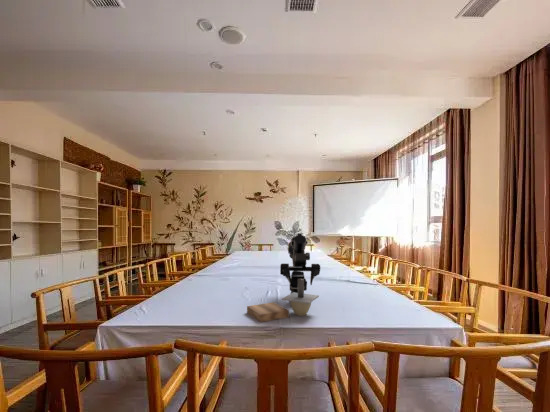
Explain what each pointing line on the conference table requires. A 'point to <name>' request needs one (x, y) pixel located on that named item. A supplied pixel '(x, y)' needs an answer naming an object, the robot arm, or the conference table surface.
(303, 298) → the cover
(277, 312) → the stand
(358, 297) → the conference table surface
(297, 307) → the flower pot
